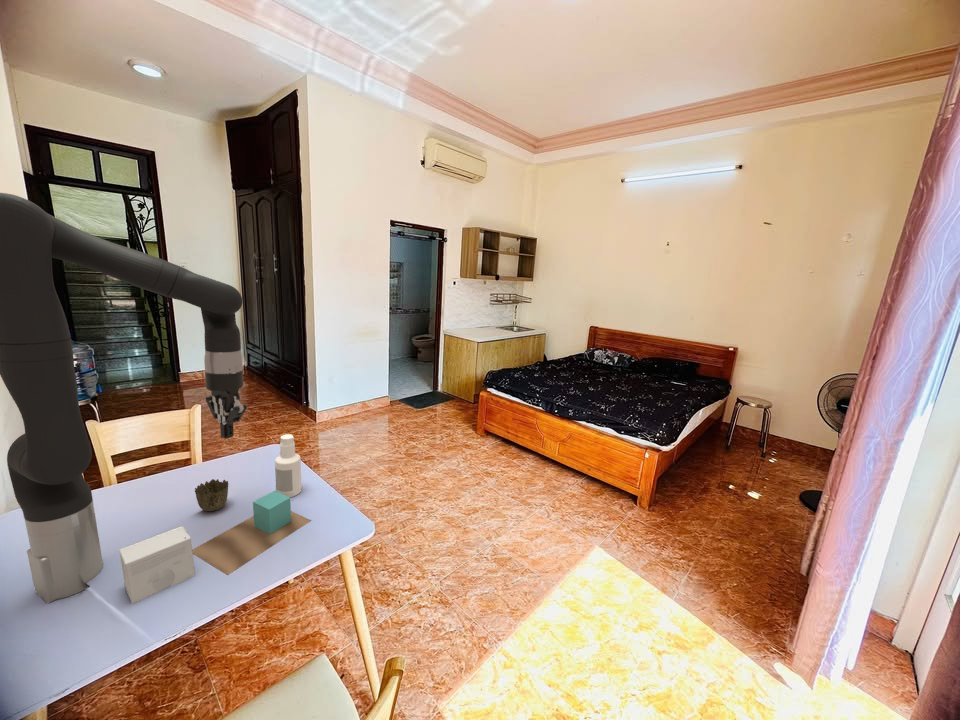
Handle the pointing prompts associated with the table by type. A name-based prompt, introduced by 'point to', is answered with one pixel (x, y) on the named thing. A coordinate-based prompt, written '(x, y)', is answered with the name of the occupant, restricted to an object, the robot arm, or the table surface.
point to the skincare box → (157, 563)
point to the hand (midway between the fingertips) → (227, 437)
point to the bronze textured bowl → (212, 494)
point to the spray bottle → (288, 468)
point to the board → (243, 543)
